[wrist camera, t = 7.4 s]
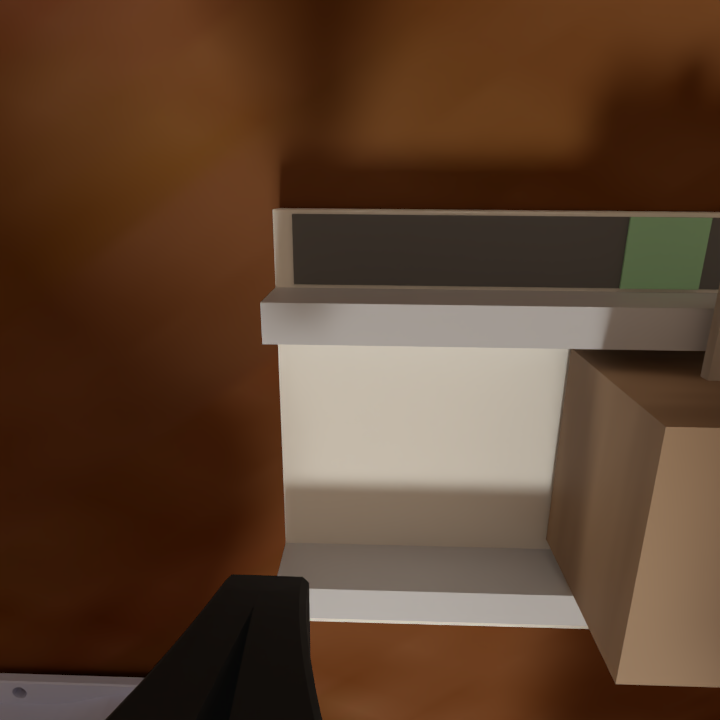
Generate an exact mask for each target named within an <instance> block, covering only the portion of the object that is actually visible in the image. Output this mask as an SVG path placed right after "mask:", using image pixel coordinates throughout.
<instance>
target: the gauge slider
mask: <svg viewBox="0 0 720 720" xmlns="http://www.w3.org/2000/svg"><path fill="white" fill-rule="evenodd" d="M546 540H547V542H548V544H549V546H550V549H551V551H552V553H553V555H554V557H555V559H556V561H557V563H558V565H559V567H560V569H561V572H562V574H563V576H564V578H565V580H566V582H567V584H568V586H569V588H570V590H571V592H572V594H573V597H574V599H575V601H576V603H577V605H578V607H579V609H580V611H581V613H582V615H583V617H584V619H585V622H586V624H587V626H588V628H589V630H590V632H591V634H592V636H593V638H594V640H595V642H596V645H597V647H598V649H599V651H600V653H601V655H602V657H603V659H604V661H605V663H606V665H607V667H608V670H609V672H610V674H611V676H612V678H613V680H614V682H615V684H626V685H658V686H689V687H720V285H719V290H718V294H717V299H716V304H715V309H714V313H713V318H712V323H711V328H710V332H709V337H708V342H707V347H706V351H670V350H606V349H571V353H570V360H569V368H568V376H567V383H566V391H565V398H564V406H563V414H562V421H561V429H560V437H559V444H558V452H557V459H556V467H555V475H554V482H553V490H552V497H551V505H550V513H549V520H548V528H547V535H546Z"/></svg>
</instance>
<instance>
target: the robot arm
mask: <svg viewBox="0 0 720 720" xmlns="http://www.w3.org/2000/svg"><path fill="white" fill-rule="evenodd" d="M0 720H322V717H321V713H320V708H319V703H318V699H317V694H316V689H315V683H314V677H313V671H312V665H311V660H310V603H309V582H308V581H307V580H306V579H305V578H304V577H295V576H262V575H231V576H230V577H229V578H228V579H226V581H225V582H224V583H223V584H222V586H221V587H220V588H219V590H218V591H217V592H216V593H215V595H214V596H213V597H212V599H211V600H210V601H209V602H208V604H207V605H206V606H205V607H204V609H203V610H202V611H201V612H200V614H199V615H198V616H197V617H196V619H195V620H194V621H193V622H192V623H191V625H190V626H189V627H188V628H187V629H186V631H185V632H184V633H183V634H182V636H181V637H180V638H179V639H178V640H177V641H176V643H175V644H174V645H173V646H172V647H171V648H170V649H169V651H168V652H167V653H166V654H165V655H164V656H163V657H162V659H161V660H160V661H159V662H158V663H157V664H156V666H155V667H154V668H153V669H152V670H151V671H150V672H149V674H148V675H147V676H146V677H145V678H140V677H109V676H78V675H47V674H15V673H0Z"/></svg>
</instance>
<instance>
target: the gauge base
mask: <svg viewBox="0 0 720 720" xmlns="http://www.w3.org/2000/svg"><path fill="white" fill-rule="evenodd" d="M273 233H274V258H275V283H276V288H275V289H273V290H272V291H271V292H270V293H269V294H268V295H267V296H266V297H265V298H264V299H263V300H262V301H261V302H260V307H261V327H262V344H278V357H279V382H280V407H281V432H282V457H283V482H284V507H285V532H286V544H285V548H284V552H283V556H282V560H281V564H280V568H279V572H278V575H277V576H295V577H304V578H305V579H306V580H307V581H308V582H309V603H310V621H332V622H367V623H401V624H435V625H470V626H504V627H539V628H573V629H589V628H588V626H587V624H586V622H585V619H584V617H583V615H582V613H581V611H580V609H579V607H578V605H577V603H576V601H575V599H574V597H573V594H572V592H571V590H570V588H569V586H568V584H567V582H566V580H565V578H564V576H563V574H562V572H561V569H560V567H559V565H558V563H557V561H556V559H555V557H554V555H553V553H552V551H551V549H550V546H549V544H548V542H547V540H546V535H547V528H548V520H549V513H550V505H551V497H552V490H553V482H554V475H555V467H556V459H557V452H558V444H559V437H560V429H561V421H562V414H563V406H564V398H565V391H566V383H567V376H568V368H569V360H570V353H571V349H606V350H670V351H706V347H707V342H708V337H709V332H710V328H711V323H712V318H713V313H714V309H715V304H716V299H717V294H718V290H719V285H720V212H668V211H556V210H444V209H332V208H277V209H273Z"/></svg>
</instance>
